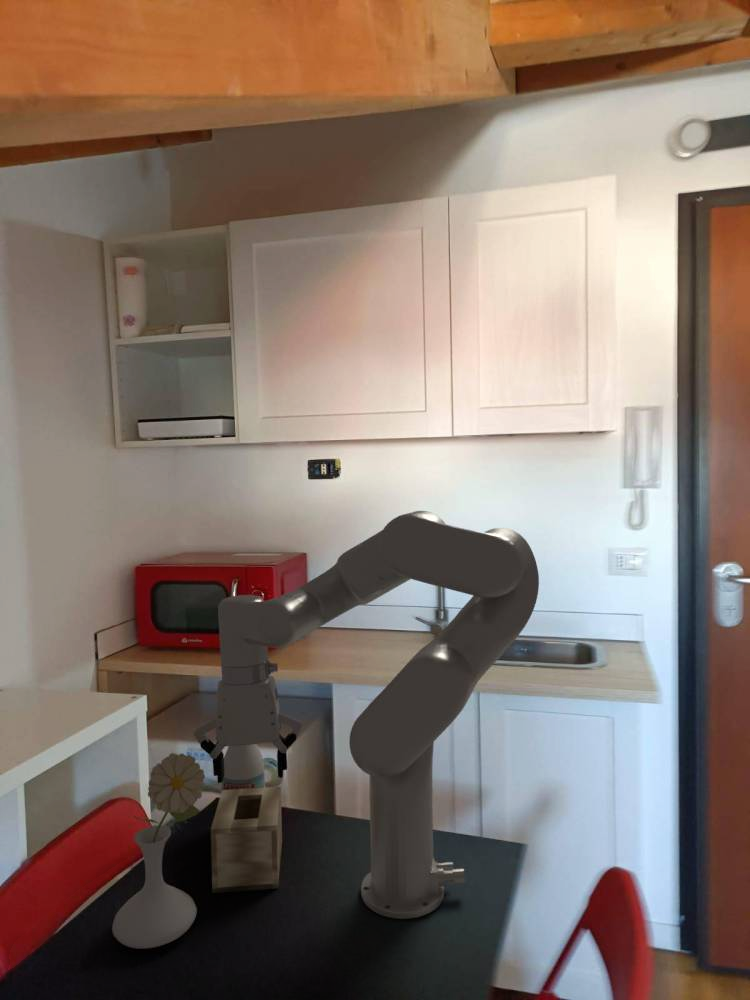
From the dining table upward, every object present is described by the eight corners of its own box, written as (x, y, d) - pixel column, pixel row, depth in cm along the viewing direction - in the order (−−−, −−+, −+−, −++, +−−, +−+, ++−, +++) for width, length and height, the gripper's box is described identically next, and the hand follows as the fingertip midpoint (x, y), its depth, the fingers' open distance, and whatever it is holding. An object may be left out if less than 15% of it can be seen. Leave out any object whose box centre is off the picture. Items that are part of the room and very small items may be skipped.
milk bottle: (223, 820, 126) (220, 714, 126) (265, 816, 128) (263, 711, 127) (222, 843, 119) (218, 730, 118) (266, 837, 120) (264, 726, 119)
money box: (282, 843, 118) (280, 786, 118) (278, 888, 106) (276, 825, 105) (223, 846, 118) (222, 790, 117) (212, 892, 105) (210, 829, 104)
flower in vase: (108, 966, 89) (101, 779, 88) (116, 912, 100) (111, 745, 99) (210, 946, 93) (205, 766, 92) (207, 896, 104) (203, 735, 103)
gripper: (299, 662, 115) (304, 762, 115) (195, 670, 113) (201, 771, 114) (298, 675, 107) (304, 782, 108) (186, 683, 106) (192, 792, 106)
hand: (251, 776), depth 111 cm, fingers open, 9 cm apart
